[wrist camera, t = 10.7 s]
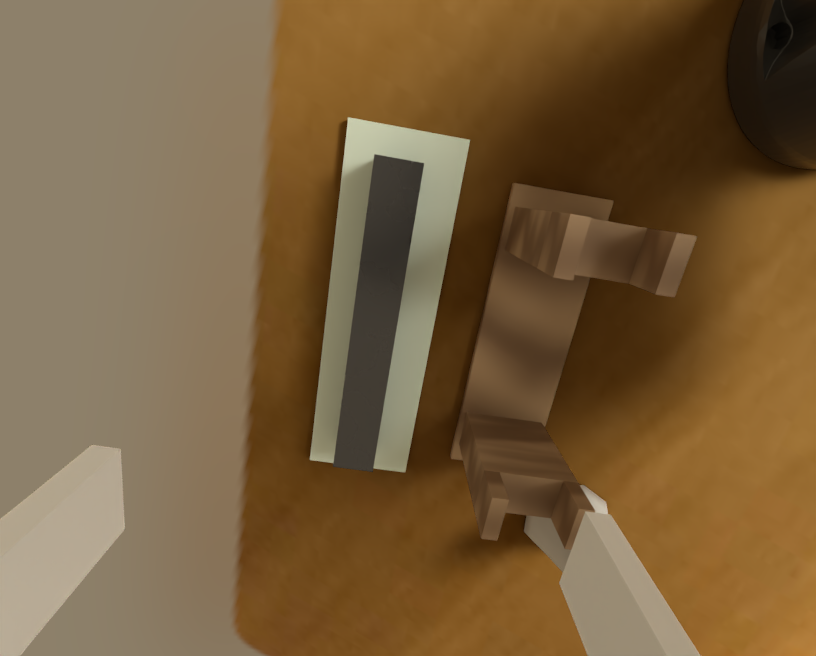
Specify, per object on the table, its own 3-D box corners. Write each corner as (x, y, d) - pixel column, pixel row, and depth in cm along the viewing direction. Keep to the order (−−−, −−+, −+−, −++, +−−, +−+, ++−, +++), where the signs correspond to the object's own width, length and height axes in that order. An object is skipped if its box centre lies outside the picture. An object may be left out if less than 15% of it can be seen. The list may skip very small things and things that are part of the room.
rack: (512, 182, 29) (571, 178, 19) (609, 200, 29) (717, 204, 19) (450, 454, 35) (469, 557, 25) (530, 465, 36) (579, 570, 26)
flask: (509, 533, 38) (545, 646, 29) (545, 470, 36) (596, 570, 27) (579, 555, 39) (636, 671, 30) (618, 494, 37) (693, 599, 28)
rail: (377, 157, 28) (374, 154, 25) (422, 166, 28) (424, 163, 25) (338, 443, 34) (332, 466, 31) (375, 448, 34) (372, 471, 32)
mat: (349, 118, 27) (348, 117, 27) (468, 141, 28) (470, 139, 27) (311, 455, 35) (309, 460, 35) (405, 468, 36) (405, 472, 35)
